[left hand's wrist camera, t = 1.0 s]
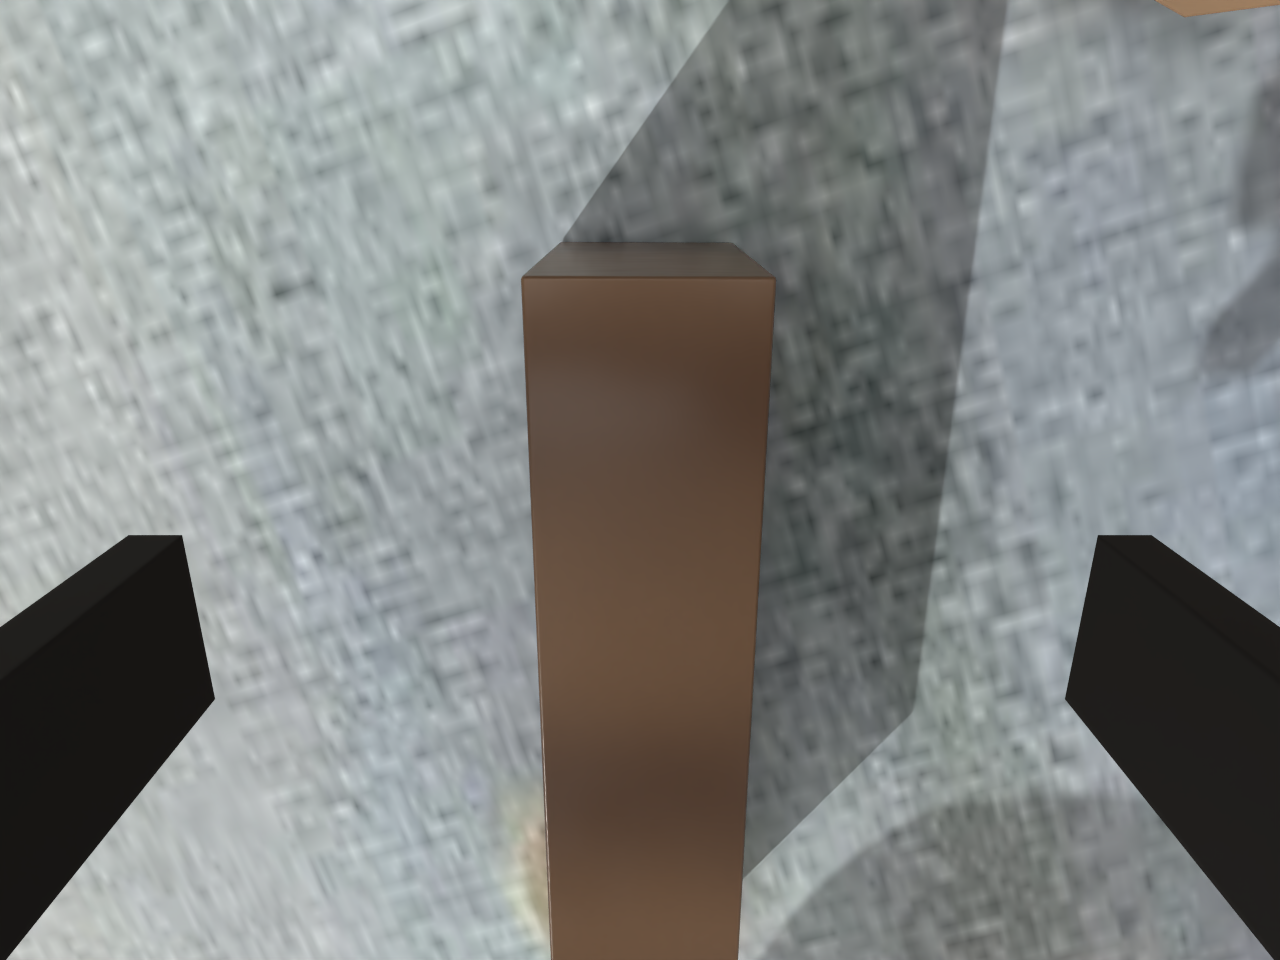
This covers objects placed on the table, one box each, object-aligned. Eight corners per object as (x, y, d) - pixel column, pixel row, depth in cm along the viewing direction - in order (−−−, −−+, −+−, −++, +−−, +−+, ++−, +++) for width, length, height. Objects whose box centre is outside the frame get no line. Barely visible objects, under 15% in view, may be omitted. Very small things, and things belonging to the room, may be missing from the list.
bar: (559, 242, 25) (520, 275, 17) (733, 242, 25) (776, 276, 17) (578, 915, 33) (559, 1148, 25) (707, 916, 33) (727, 1149, 25)
